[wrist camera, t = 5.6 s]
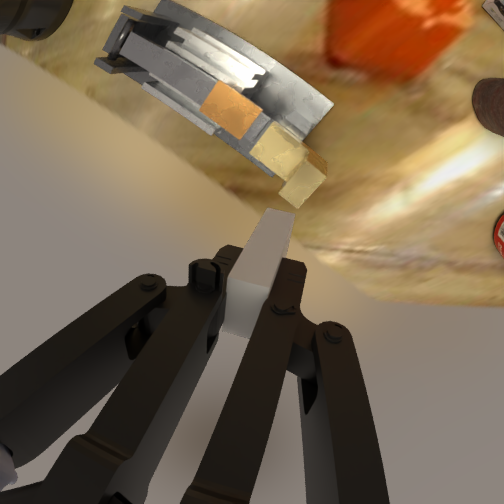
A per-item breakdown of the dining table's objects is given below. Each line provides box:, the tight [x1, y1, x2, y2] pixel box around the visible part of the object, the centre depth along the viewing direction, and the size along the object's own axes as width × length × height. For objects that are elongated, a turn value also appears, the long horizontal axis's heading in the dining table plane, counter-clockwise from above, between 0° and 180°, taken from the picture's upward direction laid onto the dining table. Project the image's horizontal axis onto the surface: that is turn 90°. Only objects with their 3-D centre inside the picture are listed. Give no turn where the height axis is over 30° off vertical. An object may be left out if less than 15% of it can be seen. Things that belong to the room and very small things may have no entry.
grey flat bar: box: [107, 18, 271, 143], centre depth 27 cm, size 20×5×2 cm, turn 54°
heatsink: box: [94, 0, 334, 177], centre depth 30 cm, size 26×12×10 cm, turn 54°
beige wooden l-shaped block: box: [249, 121, 328, 209], centre depth 26 cm, size 6×4×5 cm, turn 54°
